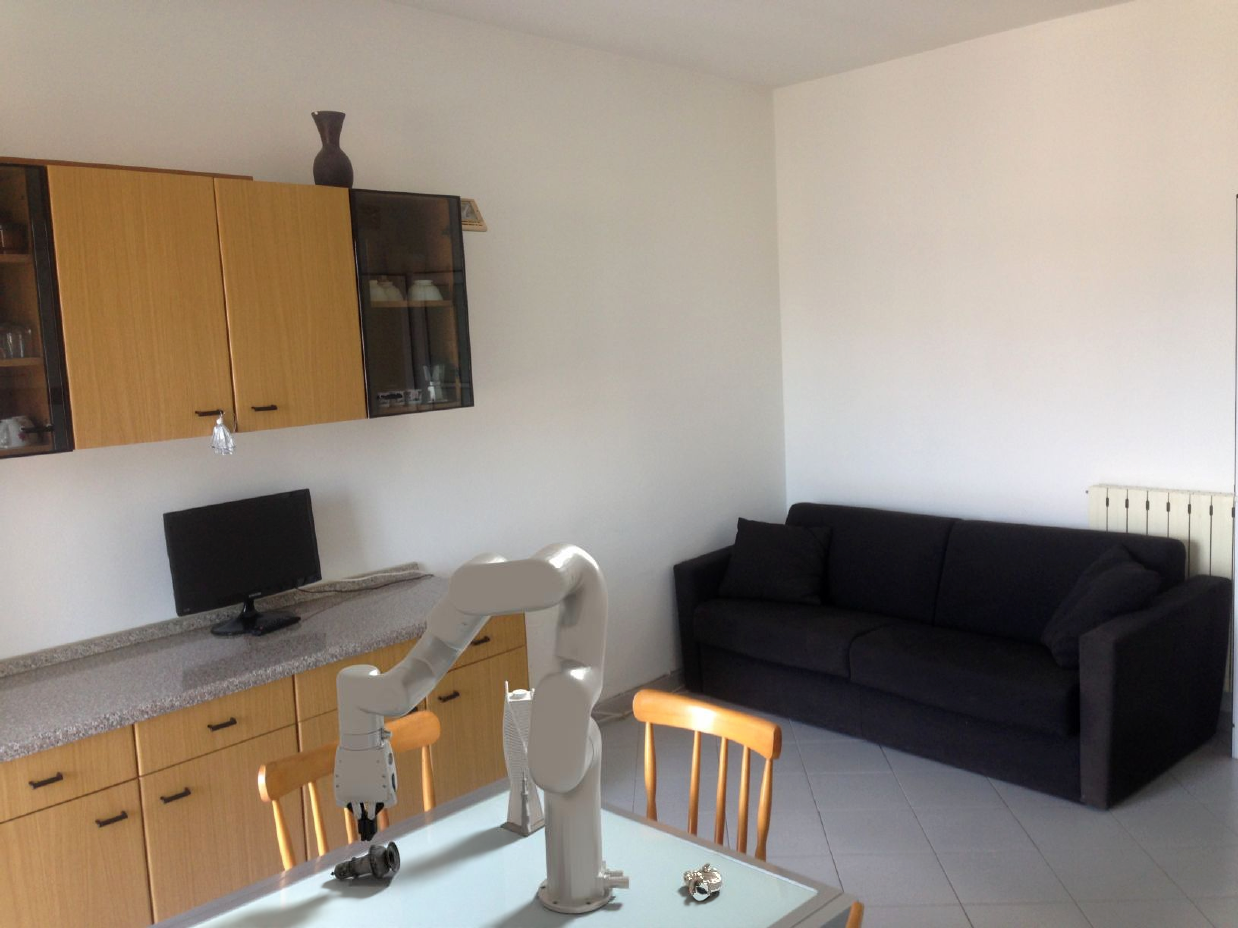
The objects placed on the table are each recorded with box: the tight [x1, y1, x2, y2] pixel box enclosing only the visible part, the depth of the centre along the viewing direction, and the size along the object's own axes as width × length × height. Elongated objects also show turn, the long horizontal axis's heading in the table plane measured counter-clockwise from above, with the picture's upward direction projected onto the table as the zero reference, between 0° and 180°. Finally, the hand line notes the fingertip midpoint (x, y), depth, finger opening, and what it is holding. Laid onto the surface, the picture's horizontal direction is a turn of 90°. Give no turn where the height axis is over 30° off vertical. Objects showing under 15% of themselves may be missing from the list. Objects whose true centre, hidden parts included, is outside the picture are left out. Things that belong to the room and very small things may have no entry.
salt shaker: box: [330, 840, 401, 881], centre depth 182 cm, size 6×6×12 cm
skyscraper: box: [499, 680, 545, 838], centre depth 200 cm, size 8×8×28 cm
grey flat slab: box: [348, 869, 396, 887], centre depth 182 cm, size 7×5×1 cm
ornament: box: [683, 862, 723, 897], centre depth 175 cm, size 8×7×4 cm
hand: (368, 837), depth 181 cm, fingers closed
